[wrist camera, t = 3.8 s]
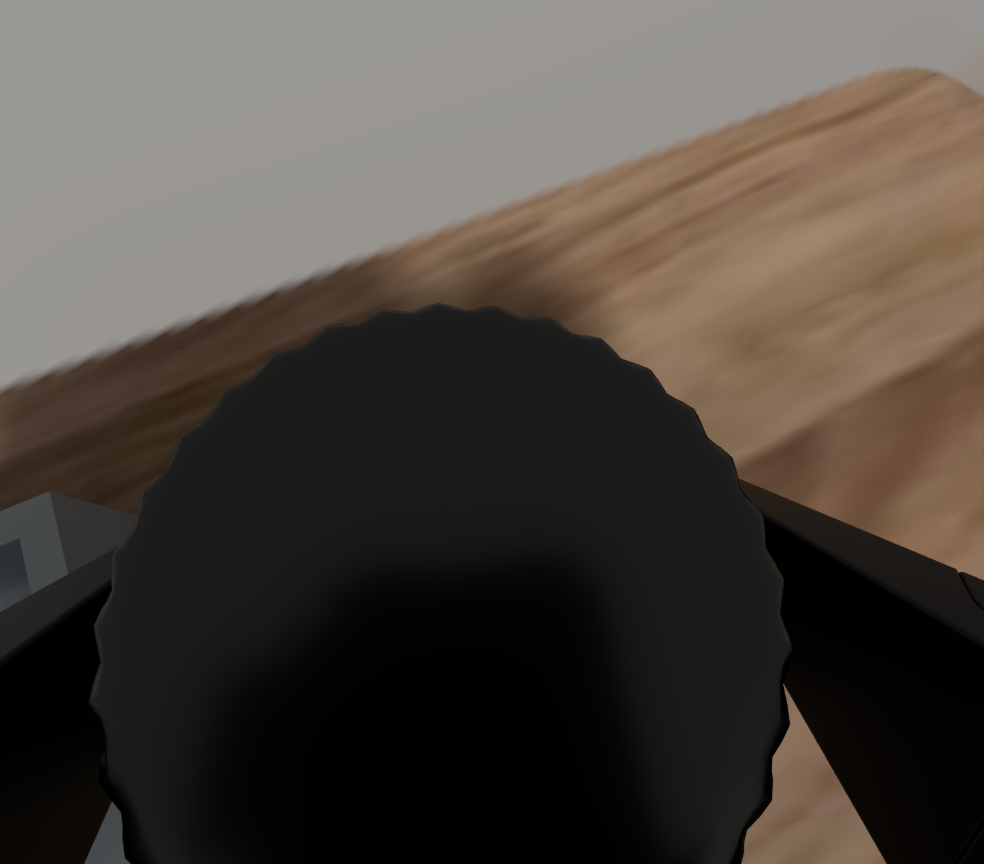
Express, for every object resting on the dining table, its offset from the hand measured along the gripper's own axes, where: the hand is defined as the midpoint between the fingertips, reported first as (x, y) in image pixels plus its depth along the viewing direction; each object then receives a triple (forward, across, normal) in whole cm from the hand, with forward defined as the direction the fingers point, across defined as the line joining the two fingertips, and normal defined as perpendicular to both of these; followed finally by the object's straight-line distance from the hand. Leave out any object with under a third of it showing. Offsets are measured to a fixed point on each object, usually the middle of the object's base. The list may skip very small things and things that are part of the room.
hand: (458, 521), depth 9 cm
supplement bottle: (+4, 0, +6) cm, 7 cm away
